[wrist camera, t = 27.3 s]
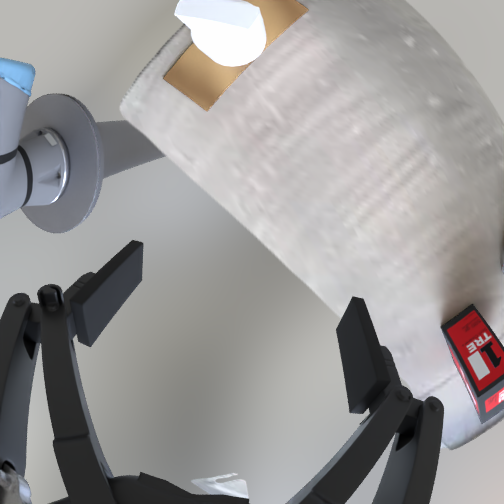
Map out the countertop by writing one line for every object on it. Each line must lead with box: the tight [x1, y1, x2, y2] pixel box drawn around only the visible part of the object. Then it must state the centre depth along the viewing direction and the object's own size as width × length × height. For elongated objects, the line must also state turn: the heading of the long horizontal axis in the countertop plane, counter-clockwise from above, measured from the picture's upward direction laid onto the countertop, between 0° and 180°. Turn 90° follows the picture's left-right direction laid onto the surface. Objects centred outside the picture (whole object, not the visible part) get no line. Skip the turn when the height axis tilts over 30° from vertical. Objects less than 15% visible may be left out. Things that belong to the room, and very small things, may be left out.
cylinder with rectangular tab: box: [175, 0, 266, 67], centre depth 26 cm, size 9×9×12 cm
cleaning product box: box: [441, 304, 504, 424], centre depth 40 cm, size 16×9×20 cm, turn 40°
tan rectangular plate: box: [163, 0, 309, 111], centre depth 31 cm, size 22×9×1 cm, turn 139°
